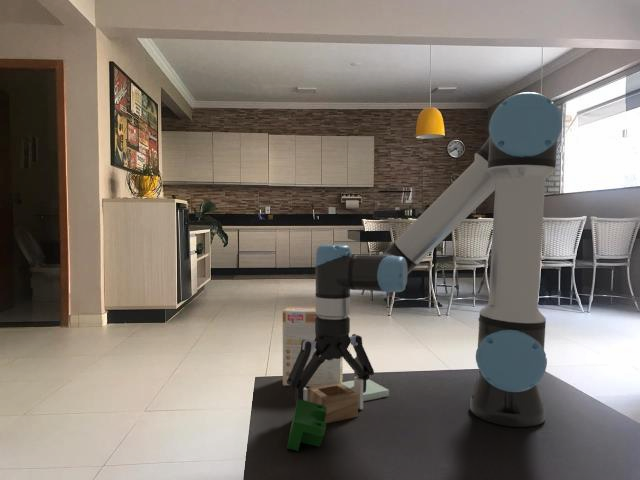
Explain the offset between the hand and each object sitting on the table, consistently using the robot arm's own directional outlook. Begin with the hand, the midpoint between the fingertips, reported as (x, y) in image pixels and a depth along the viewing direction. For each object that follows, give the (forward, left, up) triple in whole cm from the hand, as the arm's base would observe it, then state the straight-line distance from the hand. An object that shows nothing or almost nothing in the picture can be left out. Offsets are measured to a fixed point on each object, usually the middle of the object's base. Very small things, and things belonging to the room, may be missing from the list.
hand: (331, 412), depth 102 cm
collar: (0, 0, 0) cm, 0 cm away
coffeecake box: (+20, -5, 0) cm, 20 cm away
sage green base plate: (+8, -12, 0) cm, 14 cm away
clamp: (-9, +10, 0) cm, 14 cm away
